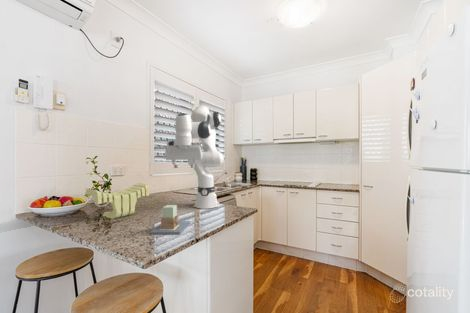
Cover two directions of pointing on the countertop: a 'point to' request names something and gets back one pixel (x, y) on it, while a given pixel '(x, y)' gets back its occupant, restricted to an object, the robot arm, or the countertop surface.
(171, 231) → the slate board
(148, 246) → the countertop surface
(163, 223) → the walnut block
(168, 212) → the sage block
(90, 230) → the countertop surface
